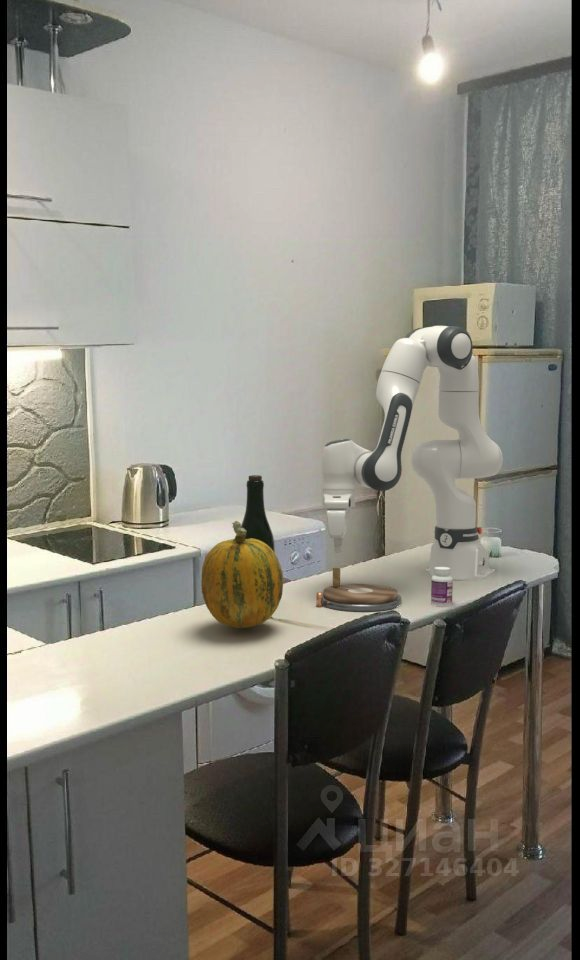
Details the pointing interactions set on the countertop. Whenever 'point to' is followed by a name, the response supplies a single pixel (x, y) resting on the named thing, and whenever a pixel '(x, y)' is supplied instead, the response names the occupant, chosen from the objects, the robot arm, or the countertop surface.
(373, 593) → the turntable
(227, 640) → the countertop surface
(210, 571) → the pumpkin
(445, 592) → the pill bottle
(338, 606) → the turntable base
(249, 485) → the wine bottle
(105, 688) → the countertop surface
